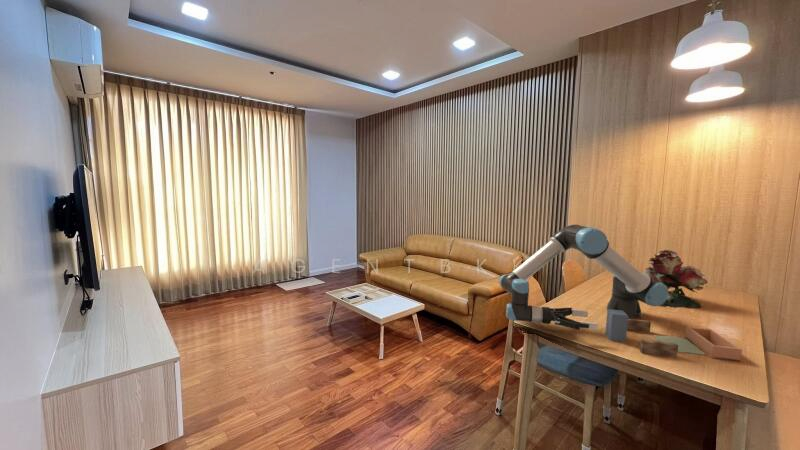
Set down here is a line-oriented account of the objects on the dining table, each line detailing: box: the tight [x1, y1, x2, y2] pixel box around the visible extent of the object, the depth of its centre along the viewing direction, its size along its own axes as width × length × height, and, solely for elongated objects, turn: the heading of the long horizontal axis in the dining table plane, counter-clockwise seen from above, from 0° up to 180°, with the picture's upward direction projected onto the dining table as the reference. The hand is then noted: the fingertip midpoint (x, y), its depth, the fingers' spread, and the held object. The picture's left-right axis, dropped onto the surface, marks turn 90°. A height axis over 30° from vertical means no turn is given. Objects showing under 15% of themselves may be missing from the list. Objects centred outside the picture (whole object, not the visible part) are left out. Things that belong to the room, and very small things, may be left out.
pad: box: [653, 334, 707, 356], centre depth 138 cm, size 12×14×1 cm
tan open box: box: [685, 326, 742, 362], centre depth 135 cm, size 9×18×5 cm, turn 165°
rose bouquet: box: [645, 249, 709, 308], centre depth 191 cm, size 26×29×30 cm
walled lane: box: [627, 318, 679, 358], centre depth 141 cm, size 12×24×5 cm, turn 165°
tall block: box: [605, 308, 629, 343], centre depth 143 cm, size 6×6×12 cm
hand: (592, 320), depth 146 cm, fingers open, 13 cm apart
